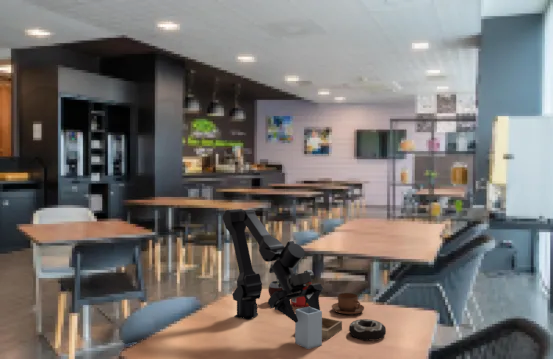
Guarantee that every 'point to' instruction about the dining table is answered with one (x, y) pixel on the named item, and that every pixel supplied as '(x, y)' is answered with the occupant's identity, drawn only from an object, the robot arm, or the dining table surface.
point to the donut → (367, 329)
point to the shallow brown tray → (330, 327)
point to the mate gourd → (274, 287)
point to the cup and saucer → (348, 304)
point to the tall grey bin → (308, 327)
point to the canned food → (301, 299)
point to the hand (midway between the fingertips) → (308, 318)
